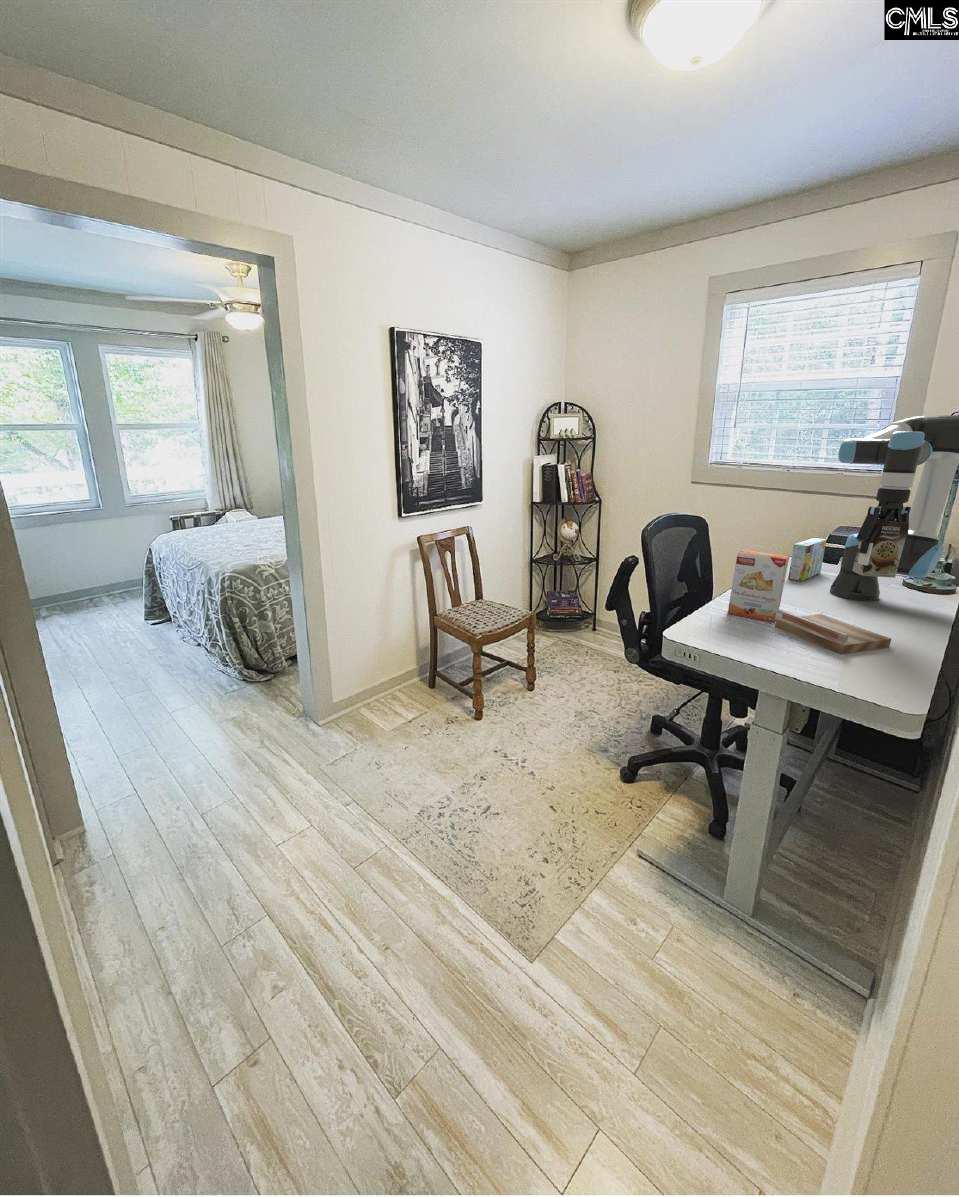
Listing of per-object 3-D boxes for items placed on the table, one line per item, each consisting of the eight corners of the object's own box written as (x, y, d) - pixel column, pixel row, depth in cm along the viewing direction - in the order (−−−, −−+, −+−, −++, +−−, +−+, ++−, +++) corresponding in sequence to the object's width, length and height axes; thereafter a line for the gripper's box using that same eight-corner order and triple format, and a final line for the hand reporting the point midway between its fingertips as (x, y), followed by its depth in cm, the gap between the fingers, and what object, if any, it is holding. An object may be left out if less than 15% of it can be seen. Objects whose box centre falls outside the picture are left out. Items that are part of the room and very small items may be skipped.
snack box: (806, 571, 230) (813, 537, 226) (820, 574, 226) (828, 539, 221) (786, 579, 217) (793, 543, 213) (801, 582, 213) (808, 545, 209)
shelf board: (819, 621, 167) (822, 604, 165) (889, 647, 147) (894, 628, 145) (774, 626, 162) (777, 610, 160) (840, 654, 142) (845, 635, 140)
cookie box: (861, 576, 155) (874, 521, 151) (851, 571, 161) (863, 518, 157) (896, 578, 154) (910, 523, 149) (884, 572, 160) (898, 519, 155)
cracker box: (726, 614, 173) (736, 551, 167) (731, 609, 177) (741, 548, 171) (774, 623, 165) (786, 558, 158) (777, 618, 169) (790, 555, 163)
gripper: (909, 486, 157) (891, 558, 163) (852, 487, 150) (835, 562, 157) (937, 488, 150) (916, 564, 157) (878, 489, 143) (860, 568, 150)
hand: (876, 563), depth 157 cm, fingers closed on cookie box, 10 cm apart
